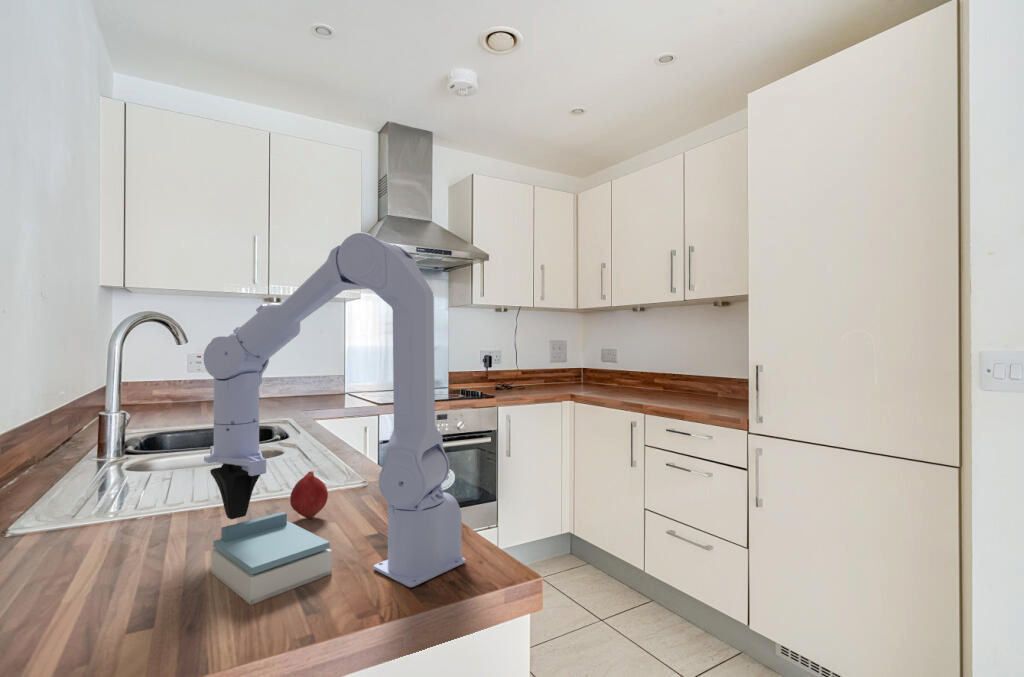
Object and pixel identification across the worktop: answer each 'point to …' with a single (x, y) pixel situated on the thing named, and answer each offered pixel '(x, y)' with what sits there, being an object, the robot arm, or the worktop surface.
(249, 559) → the lid
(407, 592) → the worktop surface
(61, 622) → the worktop surface
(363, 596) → the worktop surface
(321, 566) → the box
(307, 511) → the onion
